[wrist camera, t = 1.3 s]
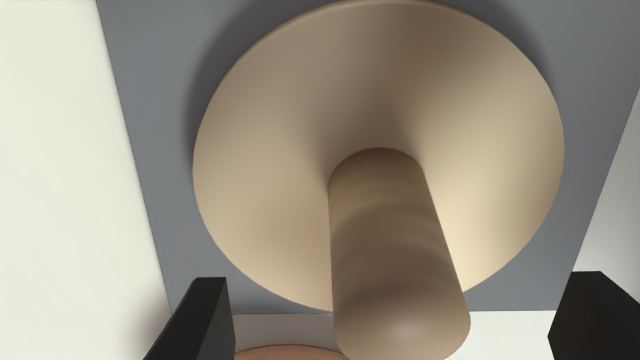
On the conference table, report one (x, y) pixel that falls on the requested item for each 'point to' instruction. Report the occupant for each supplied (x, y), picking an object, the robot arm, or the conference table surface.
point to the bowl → (289, 353)
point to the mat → (285, 3)
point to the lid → (379, 167)
